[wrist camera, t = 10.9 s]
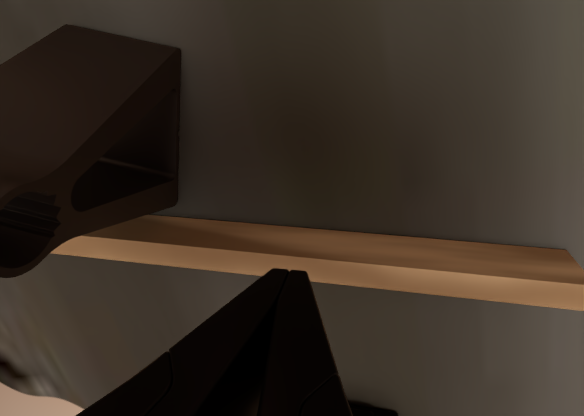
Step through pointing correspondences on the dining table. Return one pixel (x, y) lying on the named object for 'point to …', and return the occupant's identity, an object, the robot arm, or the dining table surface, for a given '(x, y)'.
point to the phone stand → (84, 139)
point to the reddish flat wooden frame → (345, 258)
